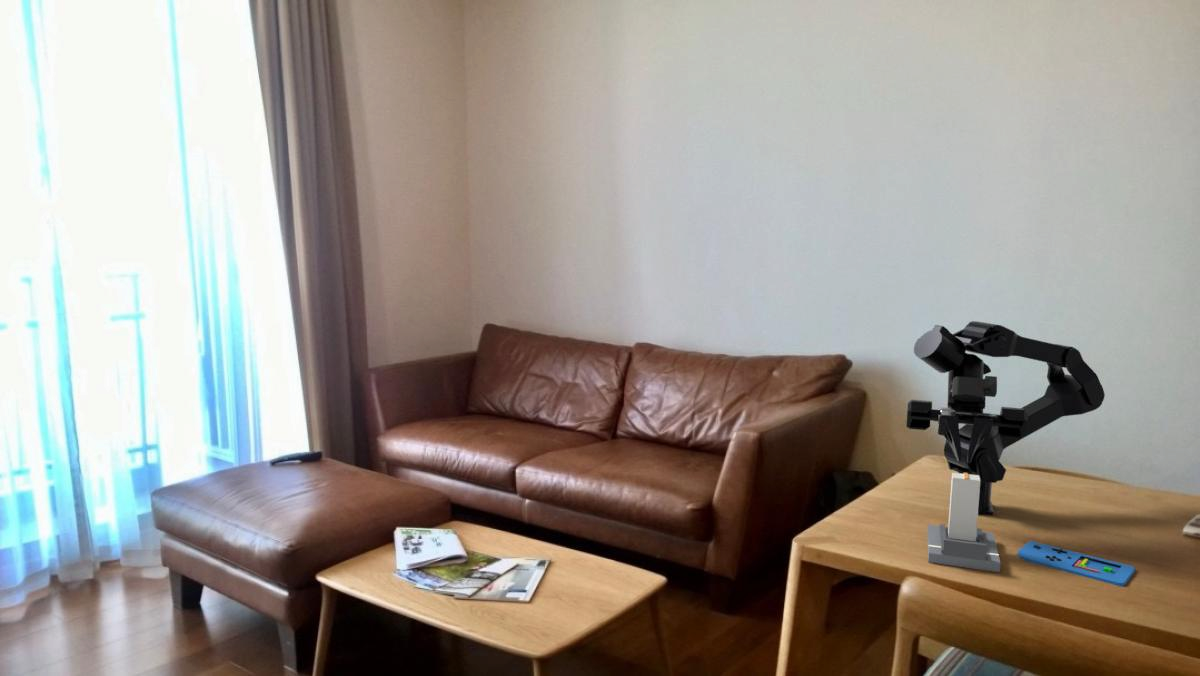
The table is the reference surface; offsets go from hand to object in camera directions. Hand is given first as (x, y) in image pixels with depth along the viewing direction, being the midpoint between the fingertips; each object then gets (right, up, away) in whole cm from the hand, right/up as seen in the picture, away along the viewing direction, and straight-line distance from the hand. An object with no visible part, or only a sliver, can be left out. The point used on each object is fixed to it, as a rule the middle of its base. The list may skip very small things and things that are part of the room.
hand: (964, 461), depth 138 cm
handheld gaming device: (+13, -15, -10) cm, 22 cm away
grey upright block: (-2, -11, -4) cm, 12 cm away
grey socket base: (-3, -14, -6) cm, 15 cm away
